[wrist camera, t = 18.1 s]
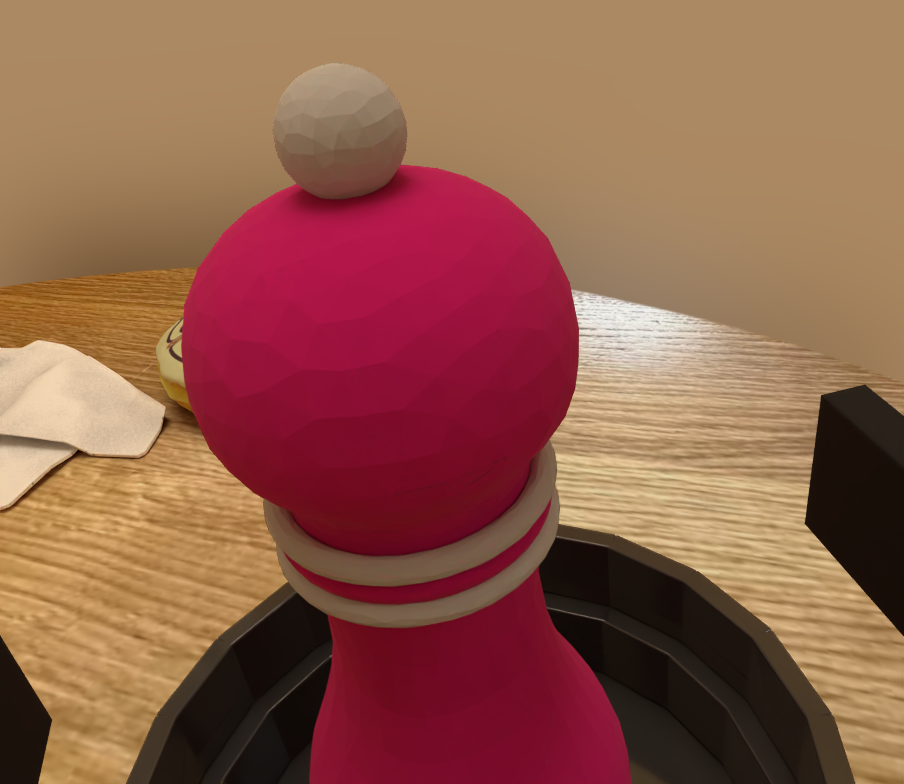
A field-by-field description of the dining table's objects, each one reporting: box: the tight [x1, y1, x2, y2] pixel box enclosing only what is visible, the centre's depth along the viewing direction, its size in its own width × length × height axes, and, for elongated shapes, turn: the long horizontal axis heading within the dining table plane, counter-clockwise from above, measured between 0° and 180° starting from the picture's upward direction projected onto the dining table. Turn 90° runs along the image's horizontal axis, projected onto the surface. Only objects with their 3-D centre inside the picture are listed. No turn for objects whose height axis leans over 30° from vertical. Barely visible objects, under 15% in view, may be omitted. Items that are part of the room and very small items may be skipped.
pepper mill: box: [181, 63, 632, 784], centre depth 16 cm, size 7×7×20 cm
